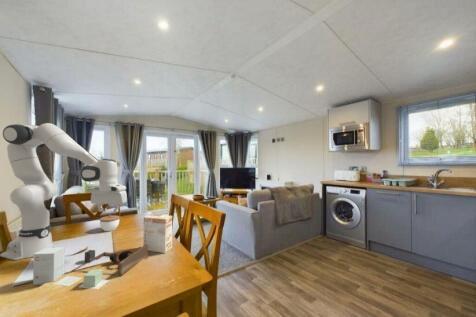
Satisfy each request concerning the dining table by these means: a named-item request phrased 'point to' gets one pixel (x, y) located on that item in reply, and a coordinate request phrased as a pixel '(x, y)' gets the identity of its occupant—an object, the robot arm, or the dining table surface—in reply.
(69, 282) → the broken strip
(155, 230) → the coffeecake box
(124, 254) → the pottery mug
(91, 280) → the sage cube
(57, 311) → the dining table surface
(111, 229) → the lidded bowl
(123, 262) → the sled strip
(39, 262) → the small box
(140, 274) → the dining table surface
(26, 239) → the robot arm
